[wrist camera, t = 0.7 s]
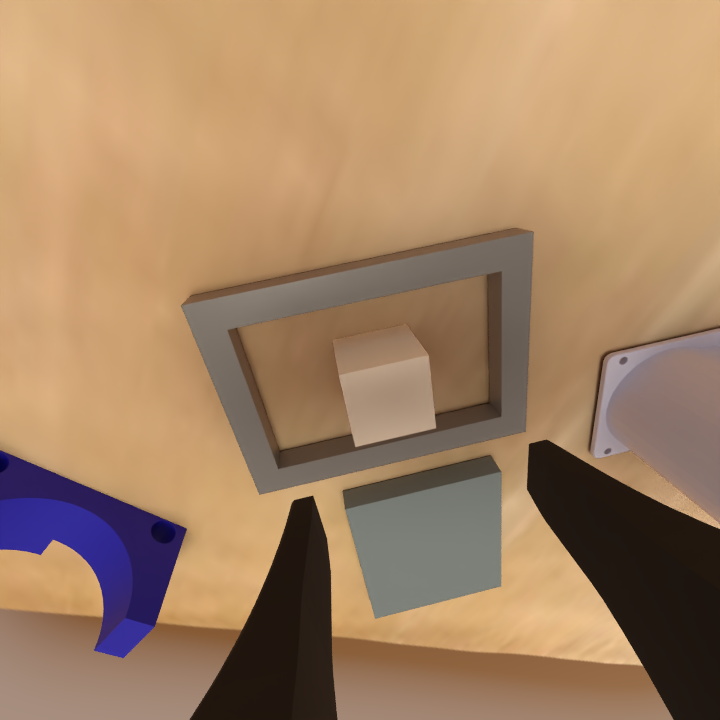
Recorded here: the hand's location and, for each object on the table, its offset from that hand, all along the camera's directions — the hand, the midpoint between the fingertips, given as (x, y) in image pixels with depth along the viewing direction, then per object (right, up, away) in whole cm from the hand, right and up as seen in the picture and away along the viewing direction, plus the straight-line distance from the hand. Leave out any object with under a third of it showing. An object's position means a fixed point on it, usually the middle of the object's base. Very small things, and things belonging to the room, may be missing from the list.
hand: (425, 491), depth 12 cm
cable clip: (-19, -4, +10) cm, 22 cm away
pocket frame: (-1, +4, +8) cm, 9 cm away
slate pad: (+3, -8, +15) cm, 17 cm away
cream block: (-1, +4, +8) cm, 9 cm away
